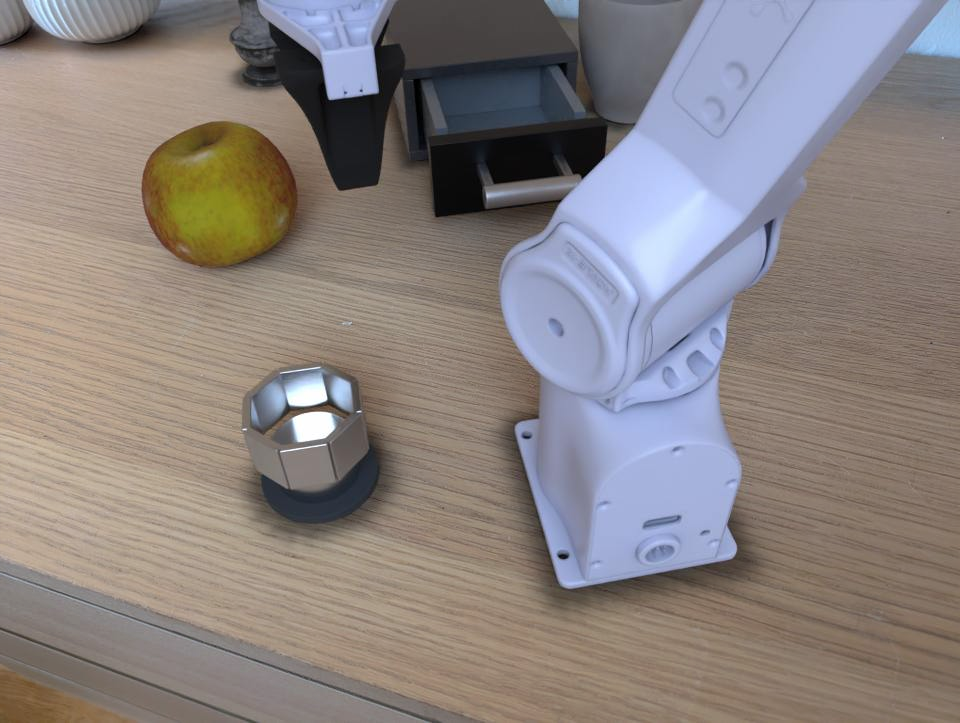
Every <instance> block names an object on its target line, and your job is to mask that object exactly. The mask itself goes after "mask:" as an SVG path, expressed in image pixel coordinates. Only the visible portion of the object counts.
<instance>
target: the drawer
mask: <svg viewBox="0 0 960 723" xmlns="http://www.w3.org/2000/svg"><path fill="white" fill-rule="evenodd" d="M417 90H418V102H419V114H420V124H421V128H422V131H423V135H424V139H425V142H426V146H427V149H428V154H429V159H428V164H429V165H428V166H429V177H430V180H429V181H430V190H431V192H430V193H431V202H432V203H431V204H432V211H433V214H434V217H435V219H438V218H445V217H453V216H460V215H469V214H475V213H484V212H492V211H498V210H507V209H514V208H515V209H516V208H523V207H531V206H538V205H545V204H546V205H547V204H555V203H560V202H561V201H562V200H563V199H564V198H565V197H566V196H567V195H568V194H569V193H570V192H571V191H572V190H573V189H574V188H575V187H576V186H577V185H578V184H579V183H580V182H581V181H582V180H583V179H584V178H585V177H586V176H587V175H588V174H589V173H590V172H591V171H592V170H593V169H594V168H595V167H596V166H597V165H598V164H599V163H600V162H601V161H602V160H603V159H604V158H605V157H606V151H607V142H608V141H607V139H608V128H609V124H608V123H607V121H606V119H605V118H603V116H600V115H599V116H593V117H587V110H586V108H585V107H584V105H583V103H582V102H581V100H580V99H579V97H578V95H577V93H576V94H575V92H574V90H573V89H572V87H571V85H570V84H569V82H568V81H567V79H566V77H565V76H564V74H563V72H562V71H561V69H560V67H559V66H558V64H550V65H541V66H531V67H522V68H513V69H504V70H494V71H485V72H476V73H466V74H457V75H448V76H439V77H429V78H420V79H417Z"/></svg>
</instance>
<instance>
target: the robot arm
mask: <svg viewBox="0 0 960 723" xmlns="http://www.w3.org/2000/svg"><path fill="white" fill-rule="evenodd" d="M397 1H398V0H257V4H258V9H259V11H260V13H261V15H262V16H263V17H264V18H265V19H267V20H268V21H269V22H268V26H269V32H270V37H271V38H272V40H273V41H274V42H275V43H276V45H277V46H278V47H279V49H280V50H281V51H274V52H273V56H274V61H275V67H276V72H277V76H278V78H279V80H280V81H281V83H282V84H281V85H282V87H283V88H284V89H285V91H286V92H287V93H288V94H289V95H290V97H291V98H292V99H293V100H294V102H296V104H297V105H298V107H299V108H300V109H301V111H302V112H303V115H304V117H305V118H306V119H307V121H308V124H309V125H310V126H311V129H312V130H313V131H312V132H313V133H314V135H315V138H316V141H317V143H318V146H319V149H320V151H321V155H322V157H323V159H324V163H325V166H326V167H327V170H328V172H329V176H330V177H331V179H332V181H333V183H334V185H335V187H336V189H337V190H338V191H340V192H344V191H350V190H356V189H363V188H371V187H375V186H378V185H379V182H380V178H381V172H382V167H383V166H382V165H383V157H384V145H385V134H386V126H387V120H388V116H389V111H390V107H391V104H392V100H393V98H394V93H395V90H396V88H397V86H398V84H399V82H400V80H401V78H402V76H403V73H404V68H405V54H404V52H403V50H402V48H401V46H400V44H399V43H398V44H391V45H387V44H384V45H382V44H383V41H384V39H385V38H384V37H385V36H386V33H385V32H386V29H387V27H388V24H389V14H390V12H391V10H392V8H393V6H394V4H395V2H397ZM949 1H950V0H703V2H702V4H701V5H700V7H699V9H698V11H697V13H696V14H695V16H694V18H693V20H692V22H691V24H690V25H689V27H688V29H687V31H686V33H685V35H684V36H683V38H682V40H681V42H680V44H679V46H678V47H677V49H676V51H675V53H674V55H673V57H672V58H671V60H670V62H669V64H668V66H667V67H666V69H665V71H664V73H663V75H662V77H661V78H660V80H659V82H658V84H657V86H656V88H655V89H654V91H653V93H652V95H651V97H650V99H649V100H648V102H647V104H646V106H645V108H644V110H643V111H642V113H641V115H640V117H639V119H638V120H637V122H636V123H634V126H633V128H632V129H631V130H630V131H629V132H628V133H627V134H626V136H625V137H623V139H622V140H621V141H619V143H618V144H616V146H615V147H613V148H612V150H611V151H609V153H607V155H605V158H604V159H603V160H602V161H601V162H600V163H599V164H598V165H597V166H596V167H595V168H594V169H593V170H592V171H591V172H590V173H589V174H588V175H587V176H586V177H585V178H584V179H583V180H582V181H581V182H580V183H579V184H578V185H577V186H576V187H575V188H574V189H573V190H572V191H571V192H570V193H569V194H568V195H567V196H566V197H565V198H564V199H563V200H562V201H561V202H559V204H558V205H557V207H556V209H555V211H554V212H553V214H552V217H551V219H550V220H549V222H548V224H547V225H546V227H545V228H544V229H543V230H542V231H541V232H538V233H536V234H534V235H532V236H530V237H527V238H525V239H524V240H522V241H519V242H518V243H517V244H516V245H514V246H512V247H511V248H510V250H509V251H508V252H507V253H506V255H505V256H504V257H503V260H502V262H501V265H500V269H499V274H498V294H499V301H500V309H501V314H502V318H503V320H504V323H505V326H506V329H507V331H508V333H509V335H510V338H511V339H512V341H513V343H514V344H515V346H516V347H517V349H518V351H519V353H520V354H521V355H522V356H523V358H524V359H525V360H526V361H527V362H528V364H529V365H530V366H531V367H532V368H533V369H534V370H535V371H536V372H537V373H538V374H539V376H540V377H539V400H538V401H539V402H538V418H533V419H526V420H521V421H518V422H517V423H516V424H515V425H514V437H515V439H516V443H517V446H518V449H519V454H520V456H521V460H522V463H523V467H524V471H525V474H526V477H527V480H528V484H529V488H530V491H531V494H532V498H533V501H534V503H535V504H534V505H535V509H536V511H537V516H538V518H539V522H540V525H541V529H542V533H543V536H544V539H545V542H546V545H547V549H548V552H549V556H550V559H551V563H552V566H553V570H554V573H555V576H556V580H557V582H558V584H559V585H560V587H562V588H565V589H567V590H572V589H573V590H574V589H578V588H584V587H589V586H595V585H600V584H605V583H611V582H616V581H623V580H627V579H632V578H636V577H642V576H643V577H644V576H648V575H655V574H660V573H665V572H666V573H667V572H670V571H676V570H681V569H687V568H693V567H698V566H703V565H708V564H714V563H720V562H725V561H730V560H732V559H734V558H735V556H736V555H737V552H738V545H737V543H736V540H735V539H734V536H733V534H732V533H731V530H730V528H729V526H728V522H729V520H730V517H731V513H732V510H733V506H734V503H735V500H736V497H737V494H738V490H739V487H740V484H741V480H742V473H743V469H742V463H741V460H740V457H739V454H738V451H737V450H736V448H735V446H734V444H733V441H732V439H731V437H730V434H729V432H728V430H727V427H726V425H725V420H724V417H723V412H722V408H721V404H720V384H719V382H720V374H721V367H722V366H721V365H722V359H723V357H724V356H723V355H724V352H725V347H726V342H727V341H726V340H727V329H728V322H729V321H730V317H731V313H732V309H733V305H734V301H735V297H736V295H738V294H740V293H742V292H743V291H745V290H748V289H749V288H751V287H753V286H755V285H756V284H757V283H759V282H760V281H761V280H762V279H763V278H764V276H765V275H766V274H767V273H768V272H769V270H770V269H771V267H772V266H773V265H774V262H775V260H776V256H777V254H778V251H779V246H780V238H781V231H782V228H783V225H784V221H785V219H786V217H787V214H788V213H789V211H790V210H791V208H792V207H793V205H794V204H795V203H796V201H798V199H799V198H800V197H801V196H802V195H803V194H804V193H805V192H806V190H807V189H808V182H807V180H806V177H805V176H804V173H805V172H806V171H808V169H809V168H810V166H811V165H812V164H813V163H814V162H815V161H816V159H817V158H818V157H819V155H821V153H822V152H823V151H824V149H825V148H827V146H828V145H829V144H830V143H831V141H832V140H833V139H834V138H835V136H837V134H838V133H839V132H840V130H841V129H842V128H843V127H844V126H845V125H846V124H847V122H848V121H849V120H850V119H851V118H852V116H853V115H854V114H855V113H856V112H857V110H858V109H859V108H860V107H861V106H862V104H864V102H865V101H866V100H867V99H868V97H869V96H870V95H871V93H872V92H873V91H874V90H875V89H876V88H877V86H879V84H880V83H881V82H882V81H883V79H884V78H885V77H886V76H887V75H888V73H889V72H891V70H892V69H893V67H894V66H895V65H896V64H897V63H898V61H899V60H900V59H901V58H902V57H903V55H904V54H905V53H906V52H907V51H908V50H909V49H910V47H911V46H912V45H913V44H914V42H915V41H916V40H917V39H918V38H919V37H920V35H921V34H922V33H923V32H924V31H925V29H926V28H927V27H928V26H929V25H930V24H931V22H933V20H934V19H935V17H936V16H938V14H939V13H940V12H941V10H942V9H943V8H944V7H945V5H947V3H948V2H949ZM525 437H529V438H525ZM560 555H565V556H567V558H565V559H563V558H560V557H559V556H560Z"/></svg>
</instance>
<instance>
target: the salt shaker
mask: <svg viewBox="0 0 960 723" xmlns="http://www.w3.org/2000/svg"><path fill="white" fill-rule="evenodd" d="M237 2H238V7H239V11H240V25H239V26H236V27H234V28H233V29H232V30H231V31H230V33H229V35H228V41H229V42H230V43H231V44H232V45H233V46H234V49H235V51H236V54H238V56H239V57H240V58H241V60H242V61H244V62H245V63H247V64H248V65H247V66H246V67H245V68H244V69H243V70H242V72H241V73H240V74H241V75H240V76H241V79H242V81H243V82H244V83H246V84H247V85H250V86H251V85H252V86H254V87H274V86H279V85H280V86H281V85H282V83H281V81H280V80H279V78H278V76H277V72H276V67H275V61H274V56H273V52H274V51H281V50H280V49H279V47H278V46H277V45H276V43H275V42H274V41H273V40H272V38H271V37H270V32H269V26H268V22H269V21H268V20H267V19H265V18H264V17H263V16H262V15H261V13H260V11H259V9H258V4H257V0H237Z"/></svg>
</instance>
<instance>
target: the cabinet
mask: <svg viewBox="0 0 960 723" xmlns="http://www.w3.org/2000/svg"><path fill="white" fill-rule="evenodd" d="M385 41H386V45H391V44H398V43H399V44H400V46H401V48H402V50H403V52H404V54H405V68H404V73H403V76H402V78H401V80H400V82H399V84H398V86H397V88H396V90H395V93H394V95H393V98H394V101H395V104H396V105H395V106H396V109H397V110H396V111H397V113H398V118H399V121H400V127H401V130H402V134H403V138H404V142H405V146H406V149H407V154H408V159H409V161H410V162H416V161H425V160H429V154H428V149H427V146H426V142H425V139H424V135H423V131H422V128H421V124H420V114H419V102H418V90H417V79H420V78H429V77H439V76H448V75H457V74H466V73H476V72H485V71H494V70H504V69H513V68H522V67H531V66H541V65H550V64H558V66H559V67H560V69H561V71H562V72H563V74H564V76H565V77H566V79H567V81H568V82H569V84H570V85H571V87H572V89H573V90H574V92H575V94H576V95H577V82H578V81H577V80H578V67H579V66H578V64H579V63H578V61H579V49H578V48H577V47H576V45H575V44H574V42H573V40H571V38H570V36H569V35H568V33H567V32H566V30H565V29H564V28H563V26H562V24H561V23H560V21H559V20H558V18H557V17H556V16H555V14H554V13H553V11H552V10H551V8H550V7H549V5H548V3H547V2H546V0H398V1H397V2H395V4H394V6H393V8H392V10H391V12H390V14H389V24H388V27H387V29H386V32H385Z"/></svg>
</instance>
